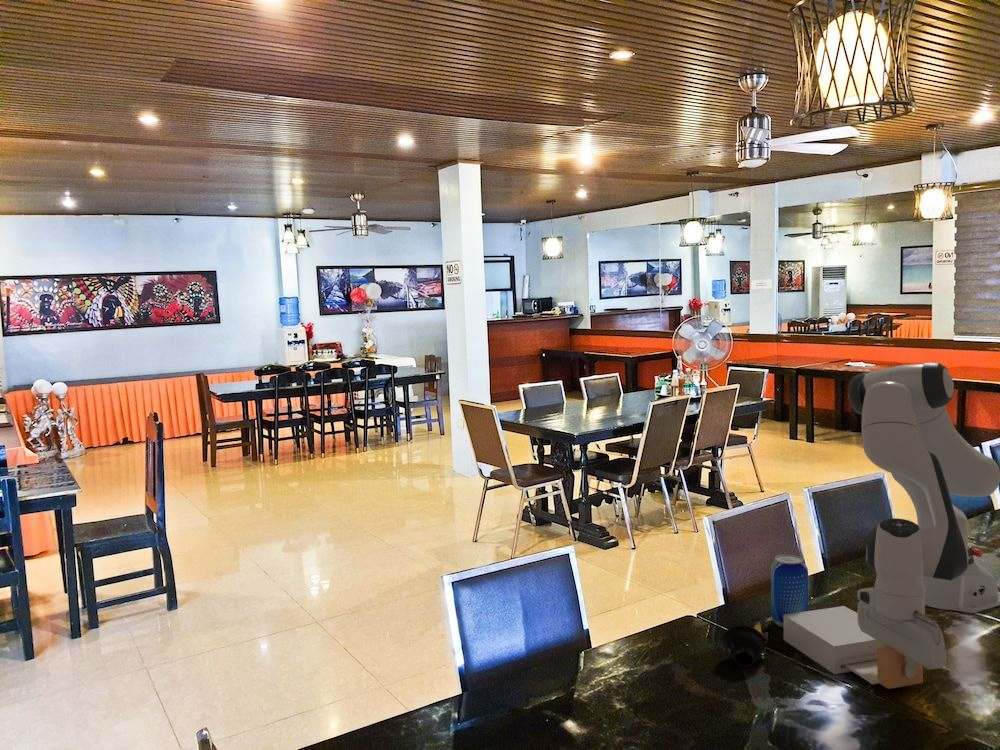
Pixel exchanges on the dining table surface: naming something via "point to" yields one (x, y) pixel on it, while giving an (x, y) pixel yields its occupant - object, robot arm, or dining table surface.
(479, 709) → the dining table surface
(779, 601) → the beer can
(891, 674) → the tan-tipped white bar
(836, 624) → the block
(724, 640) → the fried shrimp in bowl
